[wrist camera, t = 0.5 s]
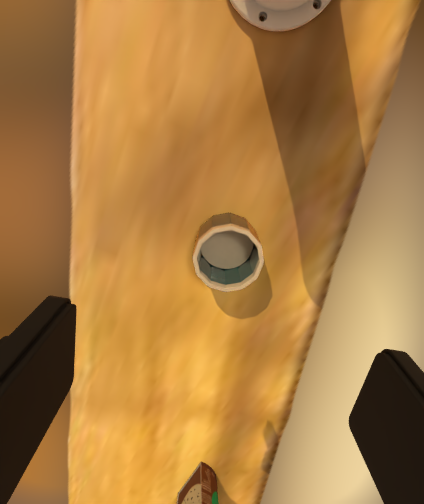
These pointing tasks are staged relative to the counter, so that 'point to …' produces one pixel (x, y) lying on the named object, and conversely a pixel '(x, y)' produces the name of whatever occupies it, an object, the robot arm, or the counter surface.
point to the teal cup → (227, 253)
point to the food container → (199, 487)
